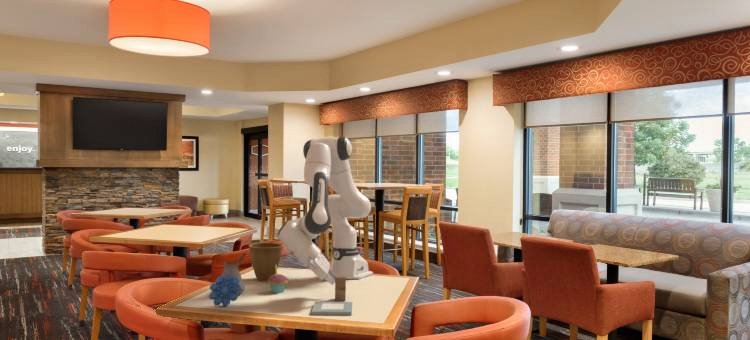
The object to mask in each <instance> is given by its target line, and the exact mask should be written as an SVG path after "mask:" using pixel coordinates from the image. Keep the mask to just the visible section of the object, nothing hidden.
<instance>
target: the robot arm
mask: <svg viewBox="0 0 750 340" xmlns="http://www.w3.org/2000/svg"><path fill="white" fill-rule="evenodd" d="M302 149H303V150H302V152H303V158H304V159H305V161H304V168H303V180H304V182H305V183H306V184H307V185H308V186H309V187H311V188H312V191H311V205H310V208H309V210H308V211H307V212H306V213H305V215H303V216H301V217H299V218H295V219H291V220H290V219H288V220H286V221H285V222H284V223H283V224H282V225H281V227H280V228H279V229H278V231H277V237H278V239H279V240H280V242H281V243H282V245H283V246H284V247H285V248H286V249H287V250H288V251H289V252H291V253H292V254H293V255H294V257H295V258H296V259H297V261H299V262H300V263H301V264H302V265H303V267H307V266H308V268H309V269H310V270H311V271H312V272H313V274H314V275H316V277H317V278H318V279H320V280H325V281H326V282H328V283H329V284H330V285H331V286H333V285H335V277H336V276H346V280H362V279H363V278H366V277H368V276H372V275H373V274H374V272H373V271H371V270H369V264H368V261H367V260H366V259H364V257H362V256H361V255H360V252H362V251H363V247H362V246H357V237H358V235H357V233H358V232H357V230H356V228H355V227H353V226H352V225H351V224H350V223H349V220H348V219H356V220H357V219H364V218H367V217H368V215H369V214H370V213H371V210H372V204H371V201H370V199H369V198H368V197H367V196H365V195H363V194H362V193H361V191H359V189H358V187H357V186H356V184H355V182H354V178H353V175H352V171H351V170H352V169H351V166H350V160H349V158H350V157H351V156H352V154H353V145H352V141H351V140H350V139H349V138H348V137H345V136H329V137H328V136H326V137H321V138H317V139H314V138H313V139H309V140H307V141H306V142H305V143H304V144H303V148H302ZM329 187H330V188H331V189H332V190H333V191H334V192H336V193H337V194H330V195H329ZM330 226H331V228H332V235H333V237H332V238H333V240H332V241H333V246H332V252H331V253H332V258H331V263H330V261H329V260H328V259H327V258H326V257H325V256H324V254H323V253H322V252H321V251H322V250H321V249H320V247H318V246H317V245H316V244H315V243H314V242H313V241H312V240H314V239H316V238H317V237H318V236H320V235H321V234H322V233H323V234H324V232H326V231H328V229H329V228H330Z"/></svg>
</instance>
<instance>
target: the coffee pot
mask: <svg viewBox="0 0 750 340" xmlns="http://www.w3.org/2000/svg"><path fill="white" fill-rule="evenodd" d="M249 255H250V253H247V251H245V252H243V254H242V256H240V258H239V259H238V261H224V262H222V265H223V268H224V269H223V271H222V273H221V275H220V276H223V277H225V276H226V275H227V274H231V275H232V276H233V278H234V277H238V278H239V283H238V284H237V285H240V286H241V291H240V292H238V293H237V295H238V296H240V295H241V294H242V293H244V291H245V289H246V285H245V282H244V281H243V280H244V279H243V278H242V275H241V273H240V270H239V265H240V263H241V262H242V261H243V260H244V258H245V257H246V256H247V257H249ZM233 278H232V279H233Z"/></svg>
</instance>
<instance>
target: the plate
mask: <svg viewBox="0 0 750 340" xmlns="http://www.w3.org/2000/svg"><path fill="white" fill-rule="evenodd" d="M352 308H353V302H352V301H315V302H314V303H313V307H312V309H311V316H352V311H353V309H352Z"/></svg>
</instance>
